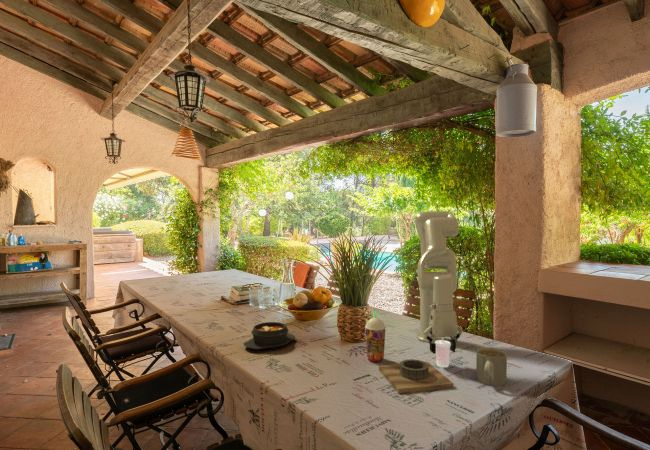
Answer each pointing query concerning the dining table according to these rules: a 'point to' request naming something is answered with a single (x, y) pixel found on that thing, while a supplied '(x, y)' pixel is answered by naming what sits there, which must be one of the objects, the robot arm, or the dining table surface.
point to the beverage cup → (442, 352)
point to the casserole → (269, 336)
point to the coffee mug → (491, 366)
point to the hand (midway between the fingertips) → (442, 351)
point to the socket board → (414, 384)
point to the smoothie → (375, 339)
